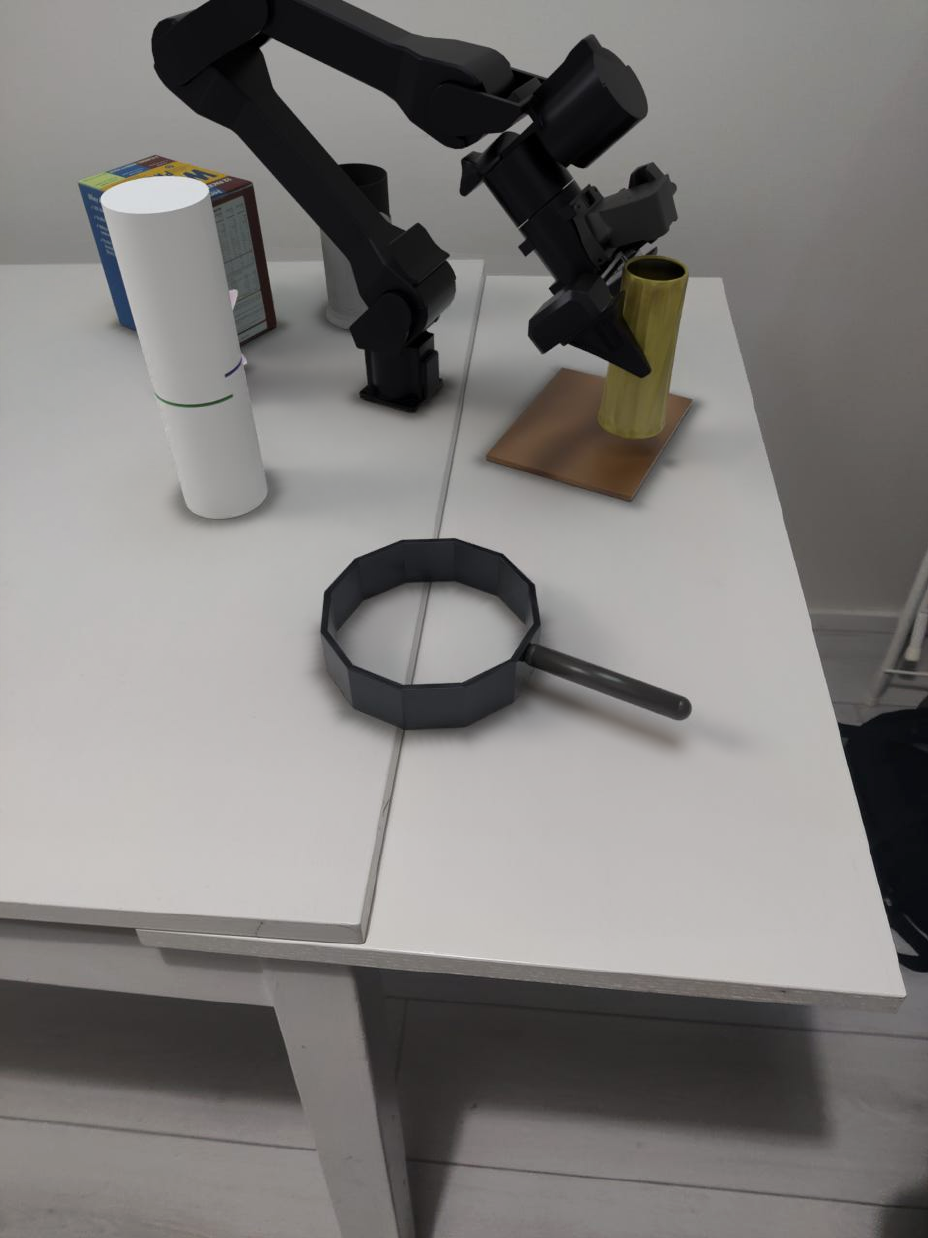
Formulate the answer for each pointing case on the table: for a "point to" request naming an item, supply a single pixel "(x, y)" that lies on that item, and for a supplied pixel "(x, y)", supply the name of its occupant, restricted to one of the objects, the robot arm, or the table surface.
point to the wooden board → (582, 438)
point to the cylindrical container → (188, 339)
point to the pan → (486, 689)
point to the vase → (646, 347)
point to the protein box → (233, 228)
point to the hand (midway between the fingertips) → (656, 359)
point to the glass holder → (338, 270)
